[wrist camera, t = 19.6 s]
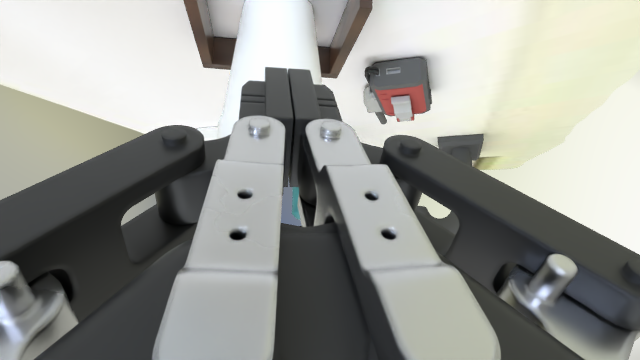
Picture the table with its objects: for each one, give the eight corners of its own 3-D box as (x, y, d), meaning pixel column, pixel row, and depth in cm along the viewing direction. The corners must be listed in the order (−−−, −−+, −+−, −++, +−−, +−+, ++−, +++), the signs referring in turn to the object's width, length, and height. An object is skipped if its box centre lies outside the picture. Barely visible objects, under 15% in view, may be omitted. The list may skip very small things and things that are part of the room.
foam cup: (348, 23, 36) (347, 157, 34) (269, 46, 41) (265, 166, 39) (291, -41, 28) (287, 131, 26) (201, -3, 33) (192, 146, 31)
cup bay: (182, -52, 27) (179, -13, 27) (372, -27, 30) (372, 9, 29) (205, 40, 40) (203, 67, 39) (336, 52, 42) (336, 78, 42)
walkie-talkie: (347, 60, 44) (377, 114, 63) (347, 97, 43) (377, 140, 62) (427, 49, 41) (433, 109, 60) (428, 88, 41) (434, 137, 59)
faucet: (399, 139, 78) (401, 238, 75) (483, 133, 73) (489, 239, 70) (409, 157, 95) (411, 239, 92) (478, 153, 90) (483, 240, 87)
